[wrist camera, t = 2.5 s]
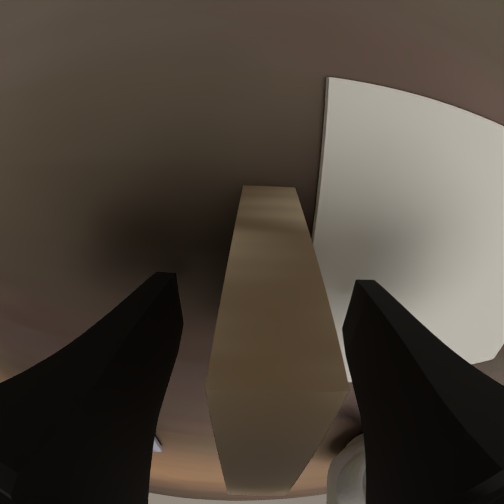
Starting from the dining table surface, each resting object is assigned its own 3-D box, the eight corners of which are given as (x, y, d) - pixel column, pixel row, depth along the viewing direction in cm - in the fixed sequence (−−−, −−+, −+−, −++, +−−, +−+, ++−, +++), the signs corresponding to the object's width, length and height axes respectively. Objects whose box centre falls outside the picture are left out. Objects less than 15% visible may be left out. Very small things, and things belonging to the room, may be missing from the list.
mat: (287, 377, 14) (288, 384, 13) (326, 77, 7) (329, 76, 7) (490, 354, 13) (493, 358, 13) (570, 164, 7) (575, 167, 7)
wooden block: (241, 327, 12) (227, 494, 6) (243, 185, 9) (204, 389, 3) (280, 328, 12) (286, 495, 6) (294, 187, 9) (348, 390, 3)
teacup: (443, 428, 19) (462, 496, 12) (340, 466, 22) (347, 533, 15) (441, 361, 13) (484, 477, 7) (278, 423, 17) (278, 536, 10)
